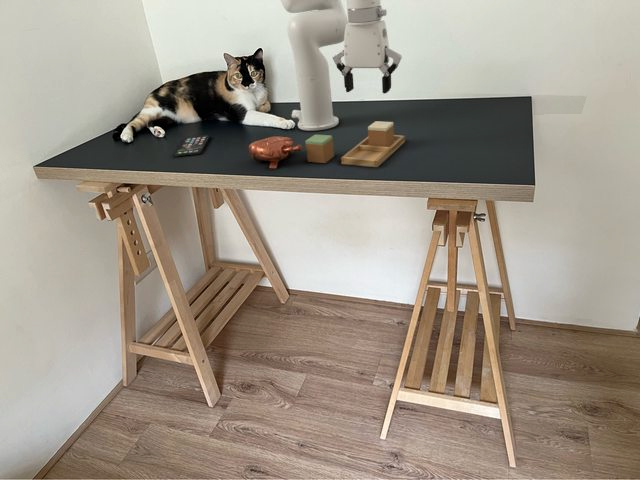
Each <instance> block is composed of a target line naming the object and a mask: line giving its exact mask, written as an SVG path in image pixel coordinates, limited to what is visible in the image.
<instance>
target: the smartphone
mask: <svg viewBox="0 0 640 480" xmlns="http://www.w3.org/2000/svg"><path fill="white" fill-rule="evenodd" d="M209 139H210V135H209V134H208V135H198V136H197V135H196V136H189V137H185V139H183V141H182V143H181V144H180V146H179V147H178V148H177V150H176V152H175V153H174V156H175V157H184V156H192V155H193V156H194V155H195V156H196V155H200V154H202V152H203V150H204V148H205V146H206V145H207V142H209Z"/></svg>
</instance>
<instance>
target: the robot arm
mask: <svg viewBox="0 0 640 480" xmlns="http://www.w3.org/2000/svg"><path fill="white" fill-rule="evenodd" d="M280 2H281V4H282V6H283V9H284V10H285V11H286V12H287V13H290V14H295V15H294V16H292V17H291V18H290V19H289V21H288V23H287V27H286V28H287V29H286V30H287V31H286V32H287V37H288V40H289V43H290V47H291V50H292V54H293V59H294V66H295V74H296V80H297V86H298V87H297V88H298V90H297V91H298V98H299V105H300V110H299V109H293V110H292V112H291V118H292V119H298V122H297V128H298V129H300V130H302V131H307V132H317V131H324V130H329V129H332V128H334V127H336V126H337V125H339V124H340V123H339V122H340V121H339V118H338V117H337V116H335V115H334V112H333V110H334V109H333V101H332V100H333V99H332V89H331V77H330V69H329V67H330V66H329V62H328V60H327V58H326V57H325V55H324V54H323V53H322V51H321V50H320V48H323V47H328V46H333V45H337V44H340V43H343V50H341V51H339V52H338V53H336V54H334V55H333V56H332V61H333V62H334V64H335V65H336V68H337V70H338V71H339V72H340V73H341V75H342V76H343V83H344V85H343V86H344V88H345V92H346V93H350V92H351V91H353V90H354V88H355V87H354V74H353V72H352V71H353V69H379V71H380V72H381V73H382V74H383V76H382V77H381V86H382V87H381V89H382V91H381V92H382V94H387V93H389V91H391V89H392V74H393V73H394V72H395V71H396V69H397V68H398V67H399V65H400V63H401V61H402V59H403V56H402V54H400V53H398V52H396V51H394V50H393V49H391V48H390V45H389V37H388V30H387V25H386V21H385V20H383V17H386V16H387V8H386V9H384V8H382V5H381V0H346V8H347V14H346V11H345V8H344V6H343V3H342V1H341V0H280ZM343 57H344V62H342V58H343ZM390 59H392V60H393V61H392V63H391V65H389V64H388V63H389V62H390Z"/></svg>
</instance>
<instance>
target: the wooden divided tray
mask: <svg viewBox="0 0 640 480" xmlns="http://www.w3.org/2000/svg"><path fill="white" fill-rule="evenodd" d="M404 143H406V135H400V134H399V135H397V134H394V143H393V144H392V145H391V146H390V147H382V146H370V145H369V138H368V136H366V137H365V138H364V139H363V140H361V141H360V142H359V143H358V144H356V145H355V146H354V147H353V148H351V149H350V150H349V151H347V152H346V153H345V154H344V155H342V156H341V157H340V161H341V165H349V166H351V165H352V166H359V167H360V166H361V167H370V168H379V167H380V165H383V163H384V162H385V161H386V160H387V159H388V158H390V156H392V155H393V154H394V153H395V152H396V151H397V150H398V149H399V148H400V147H401V146H402V145H403V144H404Z"/></svg>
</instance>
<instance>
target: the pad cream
mask: <svg viewBox="0 0 640 480" xmlns="http://www.w3.org/2000/svg"><path fill="white" fill-rule="evenodd" d="M394 131H395V128H394V121H376V120H375V121H373V123H371V124H370V125H368V126H367V137H368V138H369V145H370V146H382V147H390V146H391V145H392V144H393V143H394V135H395V132H394Z"/></svg>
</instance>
